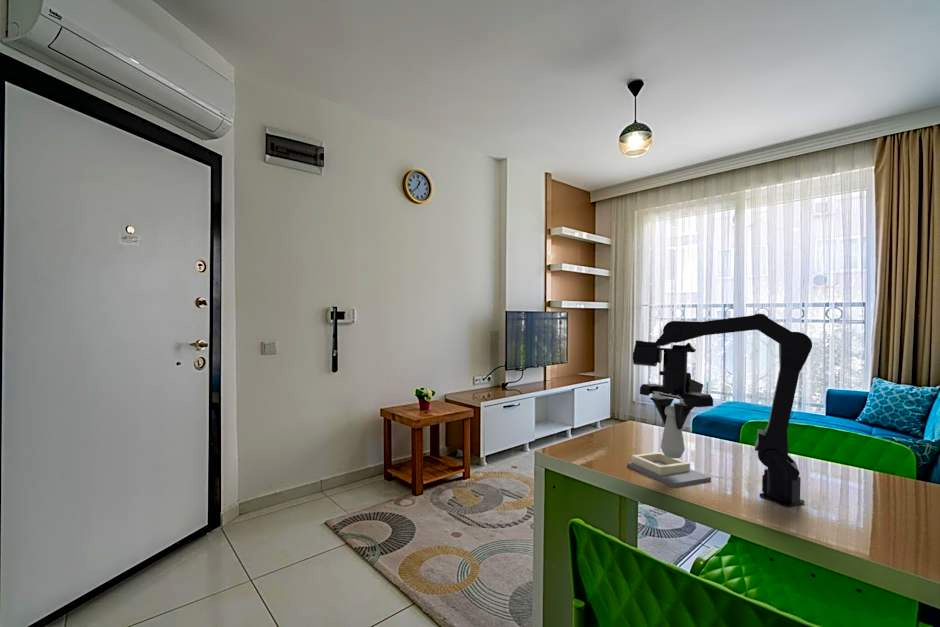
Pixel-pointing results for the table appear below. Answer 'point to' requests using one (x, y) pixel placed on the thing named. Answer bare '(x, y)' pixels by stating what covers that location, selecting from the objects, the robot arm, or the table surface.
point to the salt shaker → (672, 436)
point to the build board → (667, 469)
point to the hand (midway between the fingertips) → (673, 427)
